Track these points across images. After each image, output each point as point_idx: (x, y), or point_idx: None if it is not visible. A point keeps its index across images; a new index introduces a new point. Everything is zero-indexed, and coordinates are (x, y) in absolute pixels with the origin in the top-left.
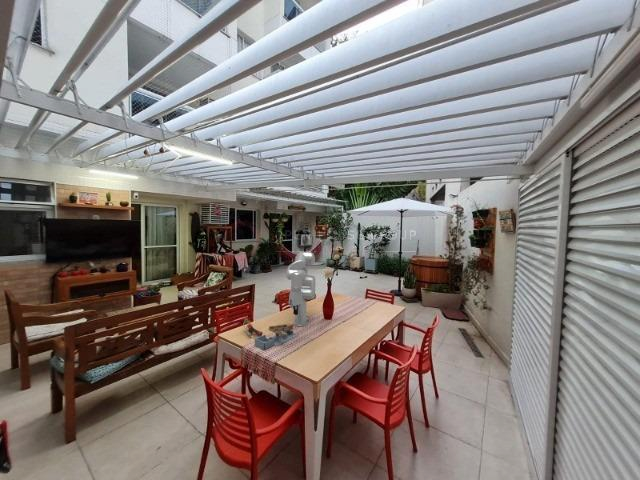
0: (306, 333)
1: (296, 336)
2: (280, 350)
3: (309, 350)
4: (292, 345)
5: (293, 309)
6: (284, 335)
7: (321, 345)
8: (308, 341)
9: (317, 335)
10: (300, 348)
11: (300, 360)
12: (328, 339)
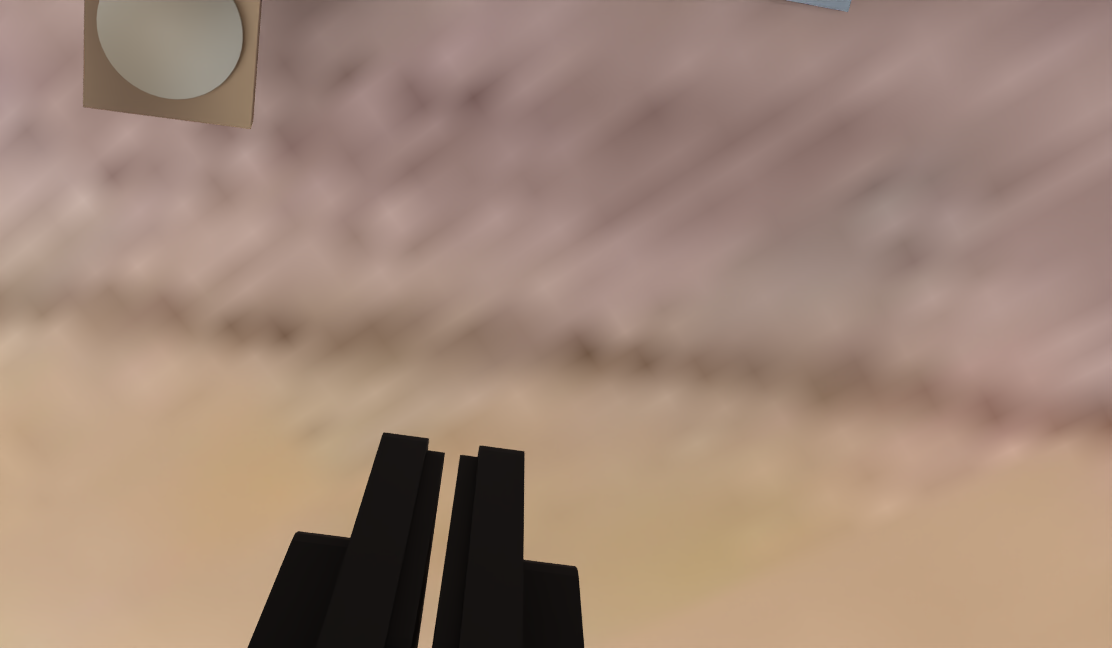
0: (1079, 119)
1: (814, 4)
2: (77, 82)
3: (435, 542)
4: (403, 174)
5: (333, 601)
6: (124, 105)
7: (712, 622)
8: (735, 359)
9: (1077, 378)
10: (399, 377)
11: (72, 581)
12: (993, 622)
